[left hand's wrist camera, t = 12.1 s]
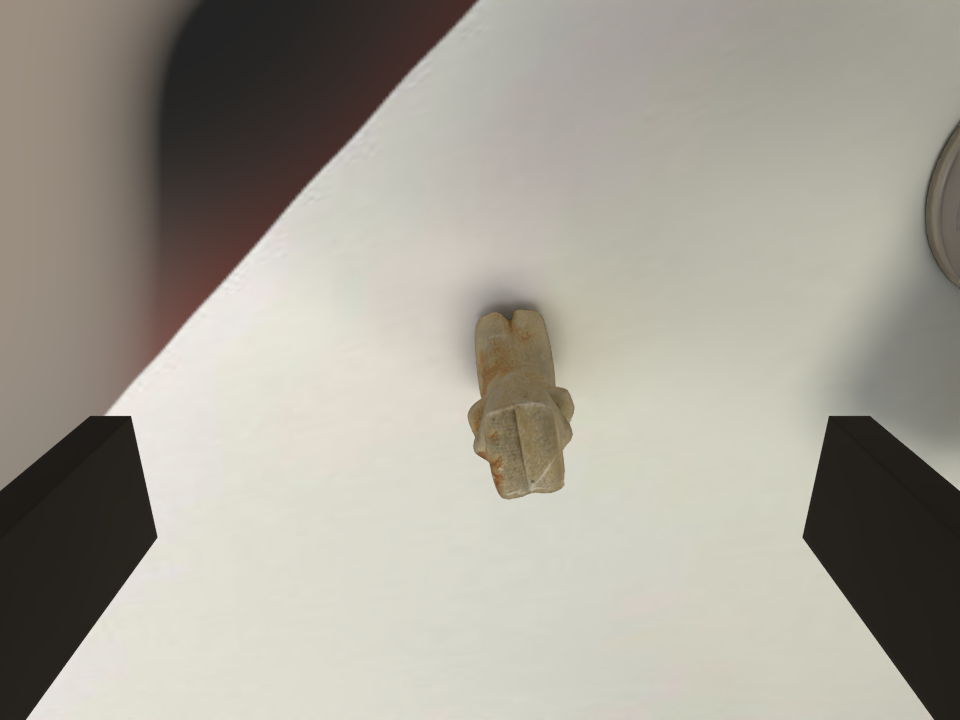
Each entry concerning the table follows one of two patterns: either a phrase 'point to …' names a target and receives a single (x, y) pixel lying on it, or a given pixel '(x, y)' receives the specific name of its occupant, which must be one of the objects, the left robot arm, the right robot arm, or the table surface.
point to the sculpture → (519, 405)
